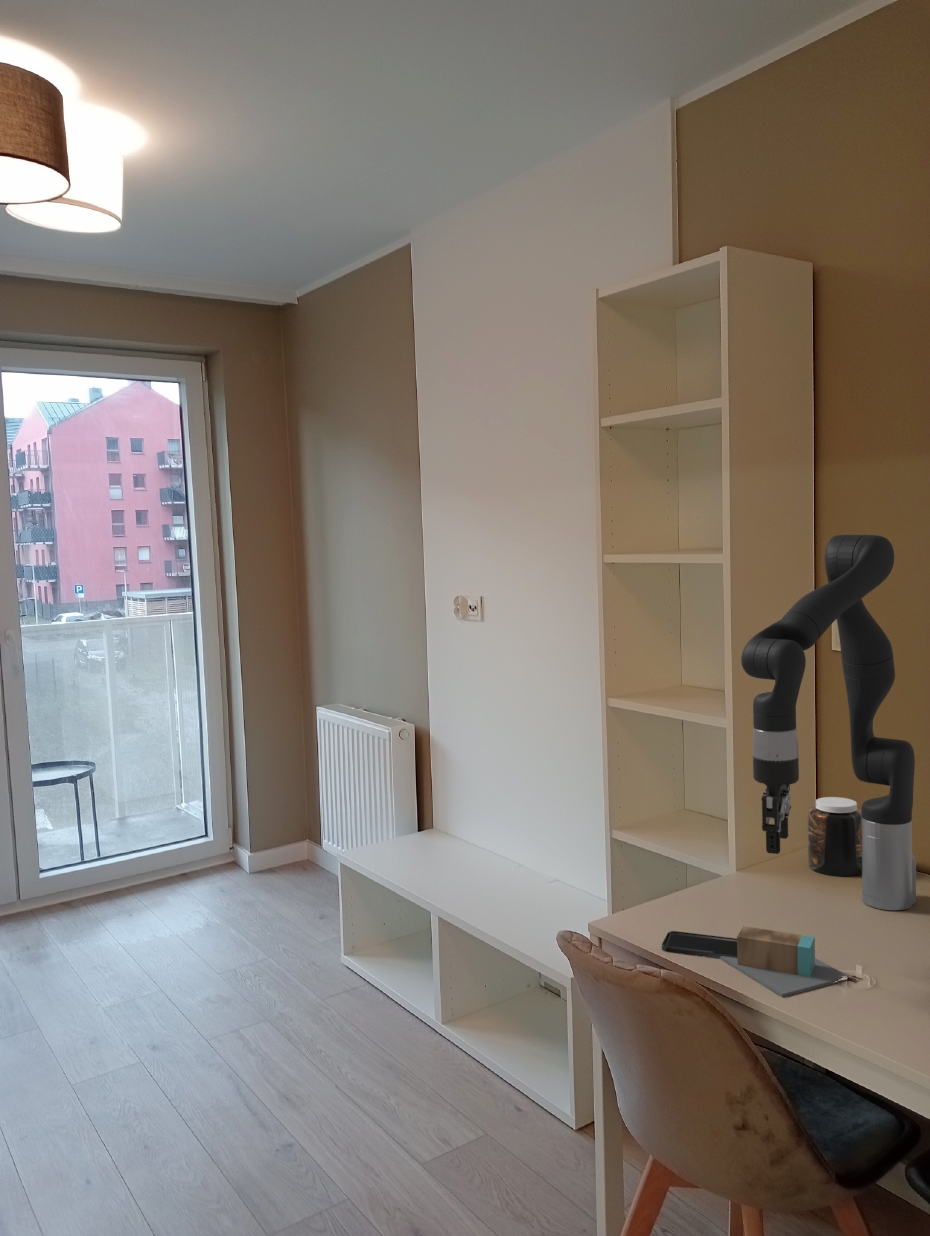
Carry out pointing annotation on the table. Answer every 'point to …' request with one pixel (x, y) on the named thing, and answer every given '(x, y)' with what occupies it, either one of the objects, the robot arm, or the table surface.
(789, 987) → the grey mat
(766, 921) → the table surface
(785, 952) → the walnut block
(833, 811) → the jar
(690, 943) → the phone
